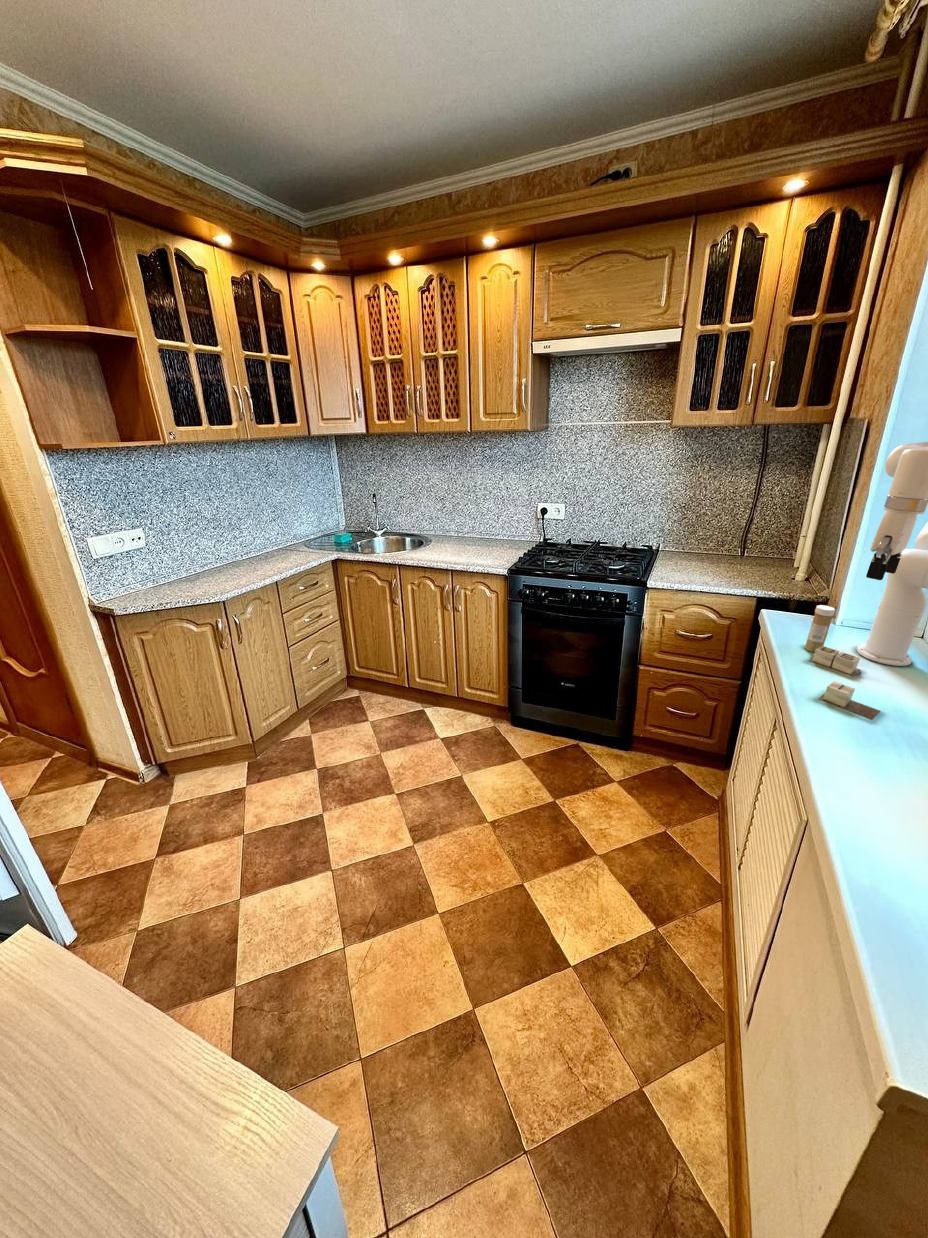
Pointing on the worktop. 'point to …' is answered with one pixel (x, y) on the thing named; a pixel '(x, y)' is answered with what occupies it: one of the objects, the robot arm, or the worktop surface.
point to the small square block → (845, 662)
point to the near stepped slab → (846, 700)
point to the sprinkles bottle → (819, 627)
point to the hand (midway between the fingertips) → (880, 575)
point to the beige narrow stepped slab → (828, 659)
